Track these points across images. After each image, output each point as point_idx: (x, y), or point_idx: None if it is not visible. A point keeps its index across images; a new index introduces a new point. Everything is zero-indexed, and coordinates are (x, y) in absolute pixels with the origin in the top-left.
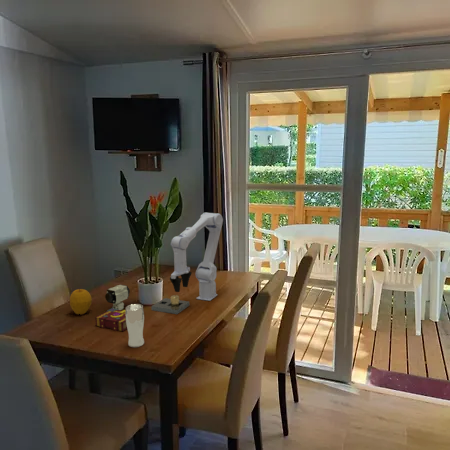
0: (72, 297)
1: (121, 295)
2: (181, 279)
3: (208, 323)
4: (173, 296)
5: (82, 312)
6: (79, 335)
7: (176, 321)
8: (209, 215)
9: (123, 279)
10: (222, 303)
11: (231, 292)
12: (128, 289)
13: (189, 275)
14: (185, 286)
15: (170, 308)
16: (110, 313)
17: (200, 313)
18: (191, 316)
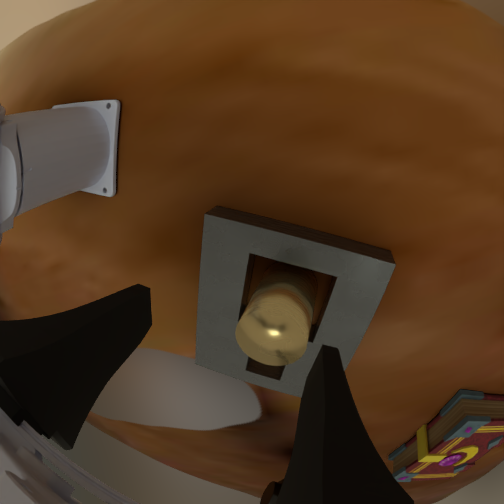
0: None
1: None
2: (333, 501)
3: (489, 28)
4: (269, 349)
5: None
6: (488, 453)
7: (493, 229)
8: None
9: (106, 429)
10: (143, 18)
11: (31, 69)
12: (275, 501)
13: (22, 346)
14: (147, 305)
15: (363, 314)
16: (433, 471)
17: (353, 84)
18: (420, 141)
